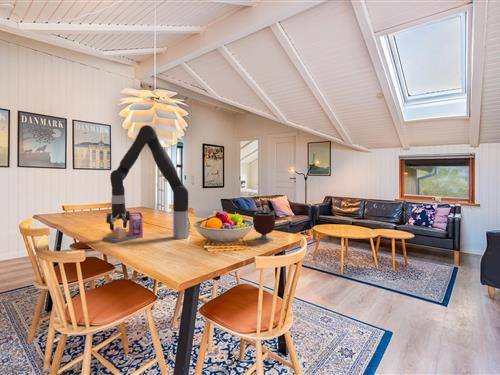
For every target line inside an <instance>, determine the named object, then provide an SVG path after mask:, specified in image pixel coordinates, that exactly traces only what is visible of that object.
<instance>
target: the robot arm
mask: <svg viewBox="0 0 500 375" xmlns="http://www.w3.org/2000/svg"><path fill="white" fill-rule="evenodd" d="M146 145H147V147H148V148H149V149H150V150H149V151H150V152H151V155H152V157H153V160H154V162H155V165H156V167H157V168H158V171H160V173H161V174H162V176H163V177H164V179H165V180H166V181H167V182H168V184H169V187H170V188H171V191H172V194H173V195H172V198H173V199H172V211H173V212H172V213H173V215H172V217H173V219H172V220H173V222H172V224H173V225H172V229H173V230H172V237H173V239H176V240H177V239H179V240H182V239H186V238H189V237H190V222H189V191H188V189H187V187H186V186H185V185H184V183H183V182H182V180H181V179H180V177H179V175H178V172H177V169H176V168H175V165H174V163H173V160H172V159H171V156H170V155H169V154H168V153H167V152H166V150H165V148H164V147H163V146H162V144H161V141H160V140H159V137H158V134H157V132H156V130H155V129H154V127H152V126H151V125H148V124H145V125H142V126H141V127H140V129H139V131H138V133H137V135H136V137H135V139H134V141H133V143H132V144H131V146H130V147H129V149H128V150H127V152H126V153H125V154H124V156H123V157H122V159H121V160H120V162H119V165H118V167H117V169H115V170H112V171H111V173H110V175H109V176H110V186H111V199H110V200H111V204H110V205H111V212H107V213H106V217H105V218H106V222H105V223H106V224H109V229H110V231H111V230H114V229H115V225H114V223H115V222H116V221H117V220H122V229H125V228H127V226H128V222H129V220H130V214H129V213H130V211H129V210H126V196H125V191H126V190H125V187H124V180H125V179H126V178H127V176H128V174H129V172H130V170H131V169H132V167H133V166H134V165H135V163H136V162H137V160H138V159H139V156H140V154H141V152H142V151H143V150H144V147H145V146H146Z"/></svg>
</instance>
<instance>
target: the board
mask: <svg viewBox="0 0 500 375" xmlns="http://www.w3.org/2000/svg"><path fill="white" fill-rule="evenodd" d="M115 229H116V230H118V231H120V230H122V229H123V226H116V227H115ZM131 240H136V238H135V236H130V235H129V234H126V237H124V238H119V239H118V238H113V237H111V235H109V236H105V237H102V241H105V242H109V243H114V244H118V243H123V242H127V241H131Z"/></svg>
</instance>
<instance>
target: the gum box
mask: <svg viewBox="0 0 500 375" xmlns="http://www.w3.org/2000/svg"><path fill="white" fill-rule="evenodd" d="M129 214H130V220H128V235H130V236H135V239H140V238H141V239H143V238H144V237H143V236H144V233H143V232H144V229H143V226H144V225H143V224H144V221H143V215H142V212H129Z"/></svg>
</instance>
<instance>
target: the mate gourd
mask: <svg viewBox="0 0 500 375" xmlns="http://www.w3.org/2000/svg"><path fill="white" fill-rule="evenodd" d="M275 212H277V209H275V210H272V211H257V212H254V214H253V219H252V221H253V224H252V225H253V229H254V230H255V233H258V234H260V235H261V236H257V237H254V238H253V240H254V241H255V240H256V241H255V242H257V241H259V242H258V243H271V242H270V241H272V242H273V241H274V238H273V237H271V236H269V237H268V236H267V235H268V234H271V233H272V232H273V231H274V229H275V226H276V216H275Z"/></svg>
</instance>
